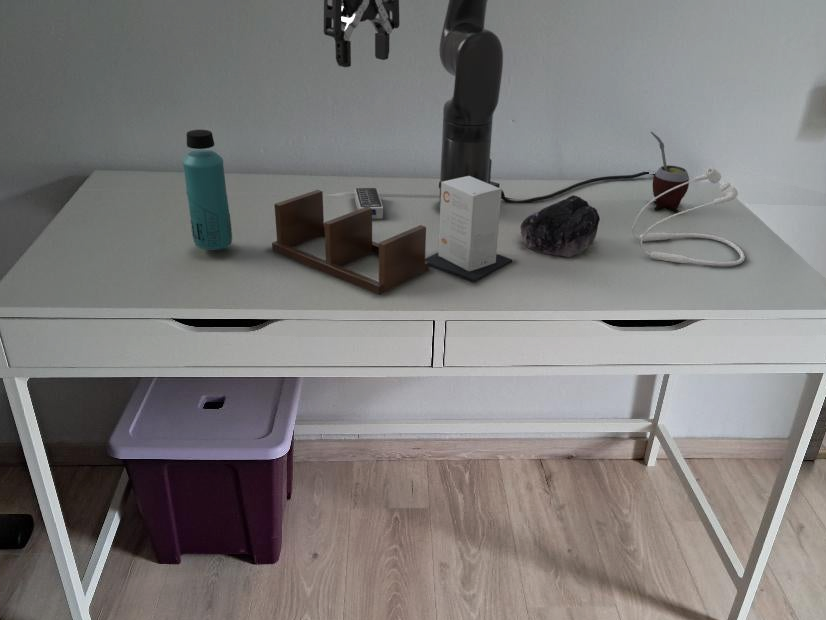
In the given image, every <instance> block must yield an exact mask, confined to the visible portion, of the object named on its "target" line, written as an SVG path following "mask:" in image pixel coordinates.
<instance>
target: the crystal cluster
mask: <svg viewBox="0 0 826 620" xmlns="http://www.w3.org/2000/svg"><path fill="white" fill-rule="evenodd" d="M598 212H599V211H598V209H596V208H595V207H593V206H592V205H590V204H589V202H588V201H587V200H584V199H583V198H582V197H581V196H578V195H574V194H573V195H570V196H568V197H567V198H565V199H562V200H559V201H557V202H554V203H552V204H550V205H548V206H546V207H544V208H541V209H540V210H539V211H537V212H534V213H533V214H530V215H529V216H527V217H526V218H524V219H523V220H522V223H521V224H520V234H521V237H522V240H523V243H524V246H525V247H526V248H527V249H529V250H530V249H531V250H534V251H535V252H538V253H544V254H546V255H547V254H549V255H551V256H553V255H554V256H562V257H567V258H571V257H574V256H577V255H581V254H582V253H583V252H584V250H586V249H587V248H589V247H590V246H591V245H593V243H594V241H595V239H596V236H597V234H598V230H599V223H600V220H601V218H600V215H599V213H598Z"/></svg>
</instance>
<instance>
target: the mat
mask: <svg viewBox="0 0 826 620" xmlns="http://www.w3.org/2000/svg"><path fill="white" fill-rule="evenodd" d="M425 261H427V262H429V267H430V268H434V269H436V270H439V271H441V272H444V273H447V274H449V275H452V276H454V277H458V278H460V279H463V280H466V281H468V282H471V283H473V284H475V283H477V282H479V281H480V280H482V279H485V278H486V277H488V276H490V275H492V274H494V273H495V272H497V271H499V270H501V269H503V268H505V267H506V266H508V265H510V264H512V263H513V259H512V258H509V257H506V256H504V255H500V254H498V253H497V254H496V263H494V264H491V265H488V266H485V267H482V268H479V269H476V270H473V271H467V270H465V269H463V268H461V267H459V266H457V265H455V264H453V263H451V262H449V261H447V260H445V259H444V258H442V257H440V256H438V252H437V253H434V254H432V255H430V256H428V257H425Z"/></svg>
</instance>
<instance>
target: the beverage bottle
mask: <svg viewBox="0 0 826 620" xmlns="http://www.w3.org/2000/svg"><path fill="white" fill-rule="evenodd" d="M214 146H215V140H214V136H213V132H212V131H210V130H207V129H192V130H189V131H187V132H186V147H187V148H189V149H194V150H192V151H190V152H188V153H187V154H186V155H185V157H184V158H183V159H182V160H181V161H182V167H183V172H184V173H183V174H184V180H185V189H186V190H185V194H186V195H187V202H188V209H189V218H190V226H191V227H190V230H191V235H192V239H193V240H192V242H193V243H194V246H196V247H197V248H198V249H200V250H207V251H215V250H216V251H218V250H222V249H225V248H228V247H230V246H231V245H232V242H233V233H232V232H233V229H232V222H231V214H230V211H231V210H230V209H231V208H230V207H229V201H228V193H227V186H226V177H225V168H224V167H225V166H224V158H223V157H222V156H221V155H220V154H219V153H217V152H215V151H214V150H210V149H211V148H213V147H214ZM229 208H230V209H229Z"/></svg>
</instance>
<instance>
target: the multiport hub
mask: <svg viewBox="0 0 826 620" xmlns="http://www.w3.org/2000/svg"><path fill="white" fill-rule="evenodd" d="M354 202H355V205H356V210H359V209H362V208H365V207H370V208H372V220H383V219H384V206H383V202H382V199H381V197H380V193H379V190H378V188H377V187H359V188H358V187H356V188H355V189H354Z"/></svg>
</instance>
